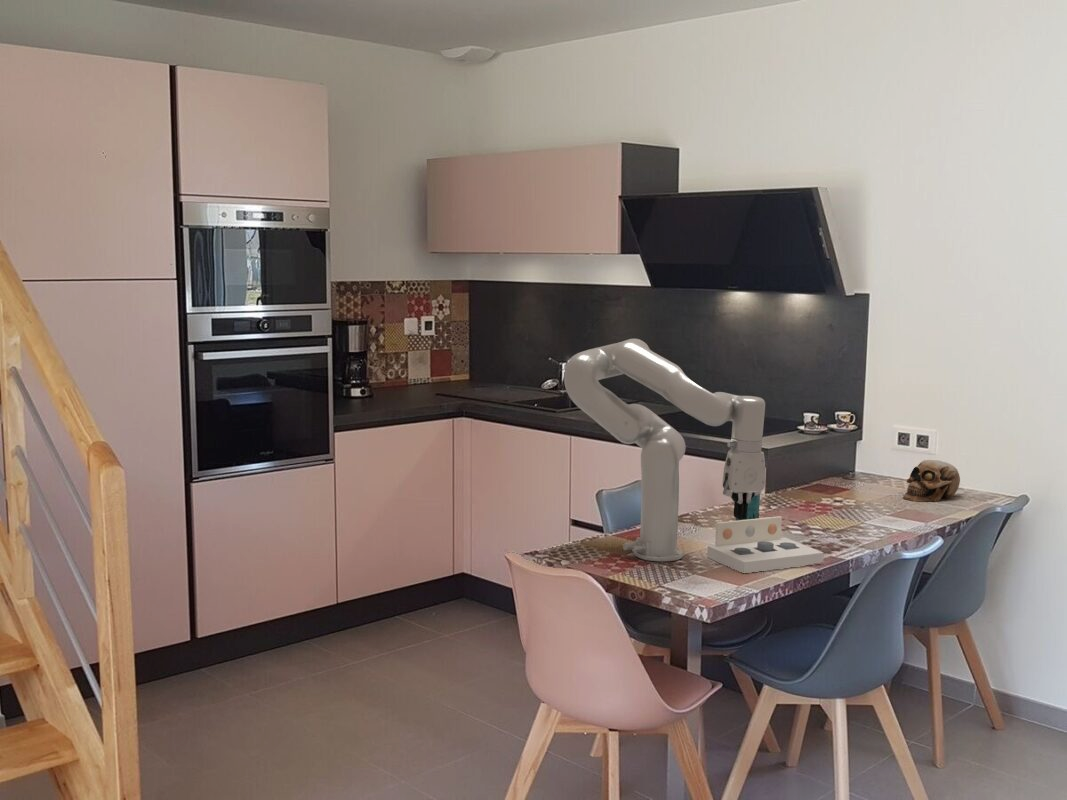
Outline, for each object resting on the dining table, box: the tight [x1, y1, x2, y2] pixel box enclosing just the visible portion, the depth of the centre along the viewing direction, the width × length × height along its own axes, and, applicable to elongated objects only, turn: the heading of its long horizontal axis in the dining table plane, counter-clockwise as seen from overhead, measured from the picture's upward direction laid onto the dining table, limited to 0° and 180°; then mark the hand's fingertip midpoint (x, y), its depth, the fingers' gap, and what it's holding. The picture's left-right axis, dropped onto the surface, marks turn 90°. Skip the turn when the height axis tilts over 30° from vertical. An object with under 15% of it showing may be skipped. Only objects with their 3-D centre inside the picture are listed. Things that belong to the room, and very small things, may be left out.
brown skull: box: [902, 459, 961, 503], centre depth 350 cm, size 16×17×13 cm
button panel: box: [706, 515, 825, 574], centre depth 272 cm, size 24×16×9 cm, turn 114°
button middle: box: [757, 541, 774, 552], centre depth 272 cm, size 4×4×3 cm
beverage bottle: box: [734, 494, 761, 521], centre depth 300 cm, size 6×7×20 cm
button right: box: [780, 542, 796, 550], centre depth 275 cm, size 4×4×3 cm
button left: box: [734, 548, 751, 555], centre depth 270 cm, size 4×4×3 cm
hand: (739, 517), depth 269 cm, fingers closed
